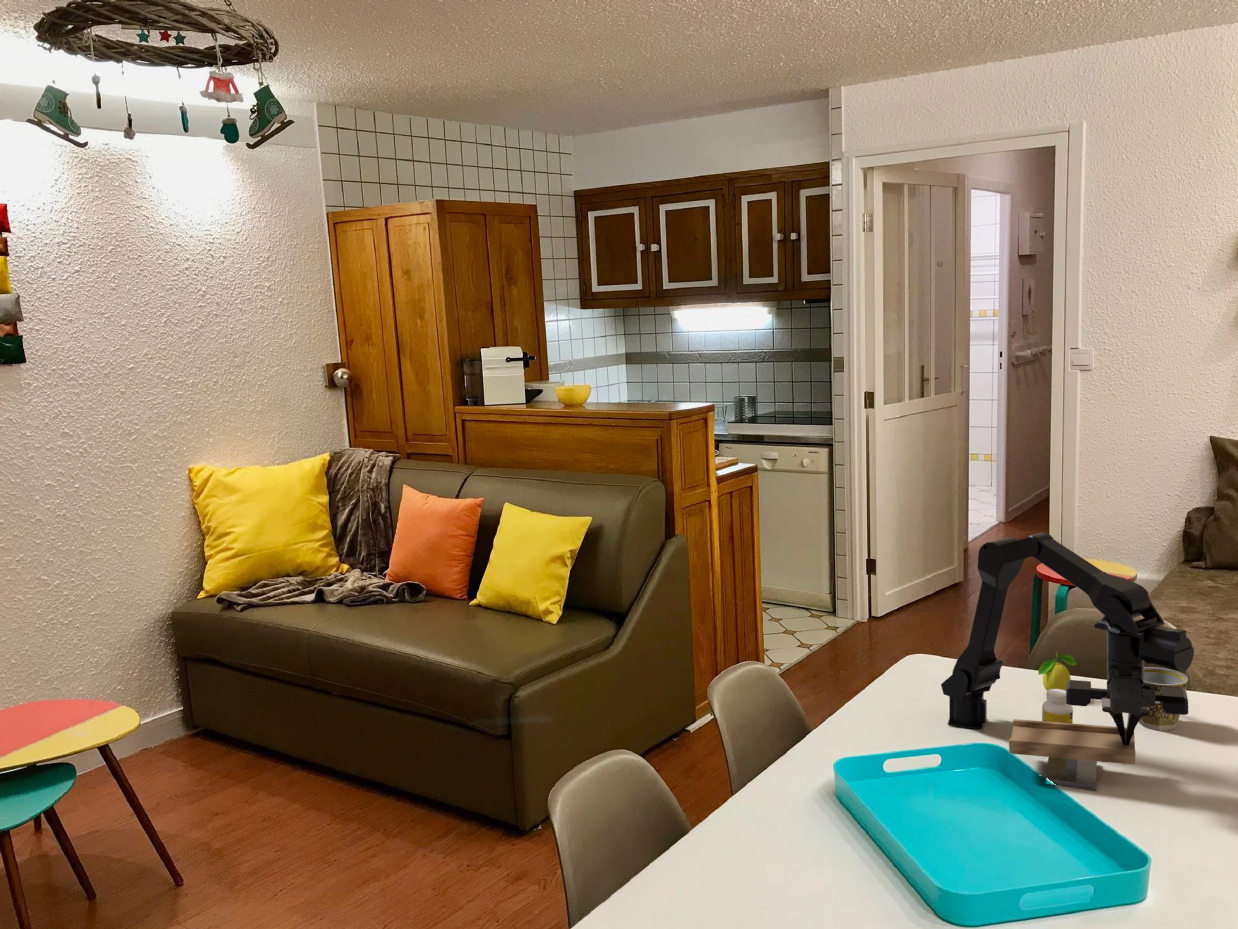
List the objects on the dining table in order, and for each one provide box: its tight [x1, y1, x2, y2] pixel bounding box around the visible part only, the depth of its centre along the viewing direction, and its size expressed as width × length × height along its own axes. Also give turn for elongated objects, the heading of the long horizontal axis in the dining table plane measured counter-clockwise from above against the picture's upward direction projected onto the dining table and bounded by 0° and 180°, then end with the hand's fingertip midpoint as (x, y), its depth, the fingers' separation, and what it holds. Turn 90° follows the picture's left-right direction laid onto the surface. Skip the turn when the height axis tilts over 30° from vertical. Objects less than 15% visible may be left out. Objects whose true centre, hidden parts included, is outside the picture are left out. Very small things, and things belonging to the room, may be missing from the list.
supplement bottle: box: [1041, 689, 1074, 724], centre depth 196 cm, size 5×5×10 cm
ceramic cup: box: [1138, 666, 1189, 732], centre depth 202 cm, size 13×10×10 cm
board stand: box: [1045, 757, 1098, 792], centre depth 182 cm, size 8×11×4 cm
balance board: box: [1008, 718, 1137, 766], centre depth 182 cm, size 20×10×2 cm, turn 65°
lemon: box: [1037, 651, 1077, 692], centre depth 217 cm, size 7×6×10 cm
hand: (1125, 744), depth 178 cm, fingers closed, pressing on balance board
